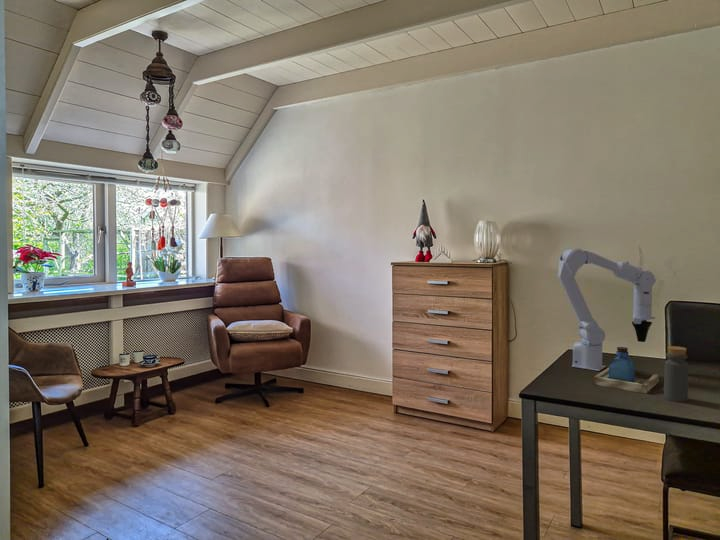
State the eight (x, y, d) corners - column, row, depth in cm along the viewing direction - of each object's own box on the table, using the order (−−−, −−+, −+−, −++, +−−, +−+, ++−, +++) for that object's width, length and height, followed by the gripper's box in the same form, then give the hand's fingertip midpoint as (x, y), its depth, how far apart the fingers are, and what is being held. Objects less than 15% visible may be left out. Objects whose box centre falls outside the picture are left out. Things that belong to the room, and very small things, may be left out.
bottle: (659, 396, 146) (660, 345, 146) (677, 395, 147) (679, 345, 146) (673, 402, 140) (674, 350, 140) (692, 401, 141) (694, 349, 140)
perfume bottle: (630, 389, 153) (631, 350, 153) (608, 385, 157) (609, 348, 157) (634, 384, 158) (635, 347, 158) (613, 381, 162) (614, 345, 161)
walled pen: (593, 384, 159) (593, 376, 159) (609, 373, 171) (609, 367, 171) (646, 393, 149) (646, 385, 148) (658, 381, 161) (658, 374, 161)
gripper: (650, 306, 169) (649, 346, 169) (659, 302, 180) (658, 339, 180) (627, 305, 173) (626, 343, 174) (638, 301, 184) (637, 337, 185)
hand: (641, 341), depth 178 cm, fingers closed
